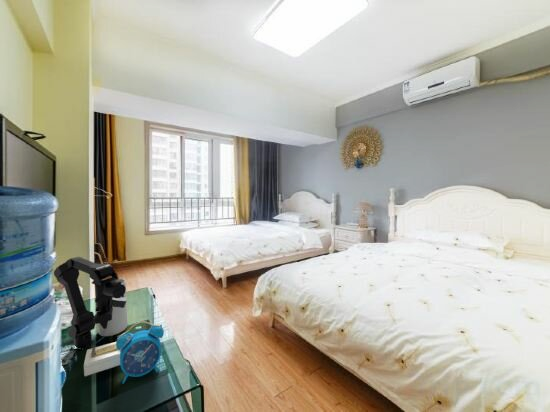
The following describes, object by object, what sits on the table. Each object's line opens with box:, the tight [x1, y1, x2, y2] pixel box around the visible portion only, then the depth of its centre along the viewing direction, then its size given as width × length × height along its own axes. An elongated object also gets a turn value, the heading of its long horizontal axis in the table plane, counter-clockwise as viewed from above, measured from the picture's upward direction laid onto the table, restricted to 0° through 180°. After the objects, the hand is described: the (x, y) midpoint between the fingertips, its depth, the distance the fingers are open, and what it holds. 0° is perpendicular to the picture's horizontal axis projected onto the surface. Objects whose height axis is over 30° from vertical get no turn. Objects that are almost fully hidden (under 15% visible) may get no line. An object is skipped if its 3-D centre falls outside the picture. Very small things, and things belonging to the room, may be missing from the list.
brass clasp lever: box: [96, 344, 117, 356], centre depth 103 cm, size 10×3×1 cm, turn 122°
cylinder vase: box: [97, 278, 128, 337], centre depth 125 cm, size 12×12×25 cm
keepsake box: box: [83, 341, 121, 377], centre depth 102 cm, size 15×10×7 cm
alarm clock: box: [115, 320, 165, 385], centre depth 96 cm, size 17×10×20 cm, turn 120°
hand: (105, 328), depth 106 cm, fingers closed
